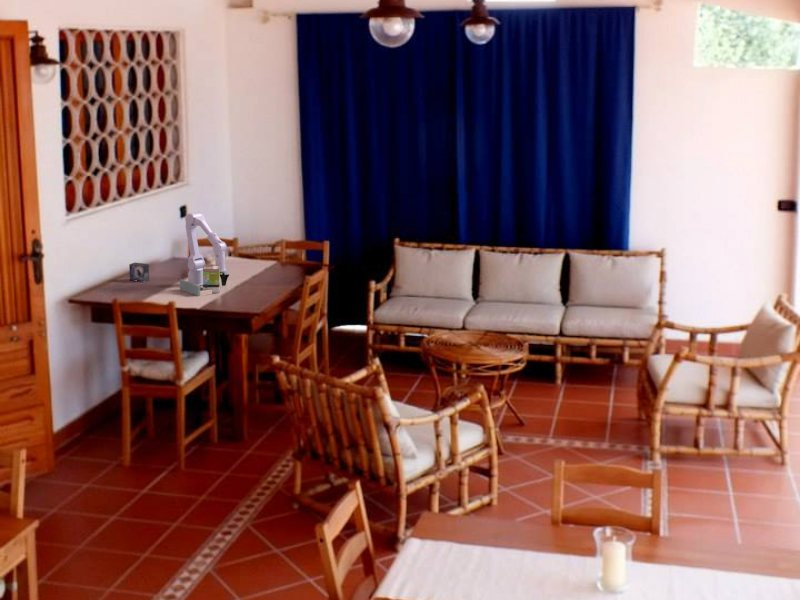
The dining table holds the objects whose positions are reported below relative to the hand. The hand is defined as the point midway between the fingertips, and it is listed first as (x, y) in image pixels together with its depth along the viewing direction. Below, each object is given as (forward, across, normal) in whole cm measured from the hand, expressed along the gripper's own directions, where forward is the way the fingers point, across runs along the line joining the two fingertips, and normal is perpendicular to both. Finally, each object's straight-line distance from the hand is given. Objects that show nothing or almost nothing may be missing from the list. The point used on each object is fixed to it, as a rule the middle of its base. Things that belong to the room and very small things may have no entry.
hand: (220, 284), depth 701 cm
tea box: (+3, -2, +8) cm, 8 cm away
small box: (+3, +49, +29) cm, 57 cm away
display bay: (+2, 0, +17) cm, 17 cm away
